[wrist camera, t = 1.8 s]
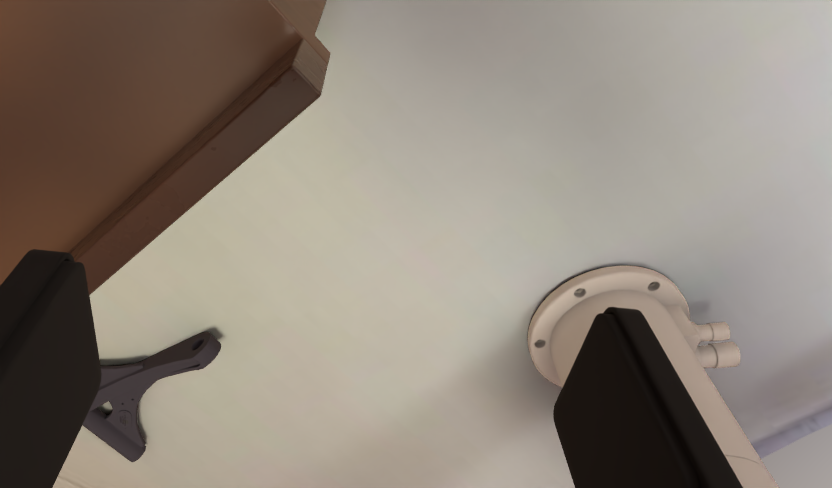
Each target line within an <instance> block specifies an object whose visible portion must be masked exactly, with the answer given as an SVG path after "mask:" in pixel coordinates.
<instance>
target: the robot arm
mask: <svg viewBox="0 0 832 488" xmlns="http://www.w3.org/2000/svg"><path fill="white" fill-rule="evenodd" d="M729 338H730V328H729V326H728V324H727V323H726V322H719V323H708V324H706V325H696V323H694V322H690V312H689V308H688V304H687V302H686V300H685V298H684V296H683V295H682V293H681V292H680V291H679V289H678V288H677V287H676V285H675V284H674V283H673V282H672V281H670V280H669V279H668V278H667V277H665V276H664V275H662V274H660V273H658V272H656V271H654V270H650V269H646V268H642V267H638V266H624V265H623V266H612V267H605V268H600V269H596V270H592V271H589V272H587V273H584V274H582V275H579V276H577V277H575V278H573V279H571V280H569V281H568V282H566V283H564V284H562V285H561V286H560V287H558V288H557V289H556V290H555V291H553V292H552V293H551V294H550V295H549V296H548V297H547V298H546V299H545V300H544V301H543V302H542V304H541V305H540V306H539V308H538V309H537V311H536V312H535V314H534V316H533V318H532V320H531V323H530V326H529V330H528V339H527V340H528V347H529V352H530V355H531V357H532V361H533V363H534V365H535V366H536V368H537V370H538V371H539V372H540V373H541V374H542V375H543V376H544V377H545V378H546V379H547V380H549V381H551V382H552V383H554V384H555V385H557V386H560V387H562V390H561V392H560V394H559V396H558V399H557V401H556V403H555V406H554V422H555V426H556V429H557V432H558V435H559V438H560V442H561V445H562V448H563V451H564V454H565V457H566V460H567V463H568V467H569V470H570V473H571V476H572V479H573V482H574V485H575V488H779V487H778V485H777V484H776V482H775V480H774V479H773V477H772V476H771V474H770V473H769V472H768V470H767V468H766V467H765V465H764V464H763V462H762V461H761V459H760V457H759V456H758V454H757V453H756V451H755V449H754V448H753V446H752V445H751V443H750V441H749V440H748V438H747V437H746V435H745V434H744V432H743V430H742V429H741V427H740V426H739V424H738V422H737V421H736V419H735V418H734V416H733V415H732V413H731V411H730V410H729V408H728V407H727V405H726V403H725V402H724V400H723V399H722V397H721V395H720V394H719V392H718V391H717V389H716V387H715V386H714V384H713V383H712V381H711V379H710V378H709V376H708V375H707V373H706V371H705V370H704V368H709V367H712V368H725V367H736V366H738V365H739V363H740V352H739V349H738V347H737V345H736V344H735V343H734V342H721V343H710V344H708V345H703V346H698V344H699V343H700V341H721V340H729ZM100 382H101V367H100V360H99V354H98V348H97V342H96V335H95V329H94V323H93V316H92V310H91V304H90V297H89V291H88V285H87V278H86V272H85V267H84V265H83V263H81V262H75V261H74V258H73V256H72V255H71V254H70V253H67V252H57V251H47V250H37V249H33V250H30V251H29V252H27V253H26V254H25V256H24V257H23V258H22V259H21V261H20V262H19V263H18V264H17V266H16V267H15V268H14V269H13V271H12V272H11V273H10V274H9V275H8V277H7V278H6V279H5V280H4V282H3V283H2V284H1V285H0V488H52V487H53V485H54V483H55V481H56V479H57V477H58V474H59V472H60V470H61V468H62V466H63V464H64V462H65V460H66V458H67V456H68V454H69V451H70V449H71V447H72V445H73V443H74V441H75V439H76V437H77V435H78V433H79V431H80V428H81V426H82V424H83V422H84V420H85V418H86V416H87V414H88V412H89V410H90V408H91V405H92V403H93V401H94V399H95V397H96V395H97V393H98V390H99V387H100Z"/></svg>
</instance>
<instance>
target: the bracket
mask: <svg viewBox="0 0 832 488" xmlns="http://www.w3.org/2000/svg"><path fill="white" fill-rule="evenodd" d="M220 349H221V344H220V342H219V341H218V340H217V339H216V338H215V337H214V336H213V335H212V334H211V333H209V332H203V333H200V334H198V335H196V336H194V337H192V338H189V339H187V340H185V341H183V342H181V343H179V344H177V345H174V346H172V347H170V348H168V349H166V350H164V351H162V352H160V353H157V354H155V355H153V356H151V357H149V358H147V359H145V360H142V361H140V362H138V363H136V364H130V365H123V366H100V367H101V382H100V387H99V390H98V393H97V395H96V397H95V399H94V401H93V403H92V405H91V408H90V410H89V412H88V414H87V416H86V418H85V420H84V422H83V424H82V425H83V426H84V427H86V428H87V429H88V430H90V431H91V432H92V433H94V434H95V435H96V436H98V437H99V438H100V439H102V440H103V441H104V442H106V443H107V444H108V445H110V446H111V447H112V448H114V449H115V450H116V451H117V452H119V453H120V454H121V455H123V456H124V457H125V458H127V459H128V460H129V461H131V462H134V461H136V460H138V459H139V458H140V457H141V456H142V455H143V453H144V452H145V449H146V446H145V441H144V439H143V437H142V435H141V432H140V430H139V427H138V423H137V407H138V402H139V400H140V399H141V397H142V395H143V394H144V393H145V391H146V390H147V389H148V388H149V387H150V386H151V385H152V384H154V383H155V382H156V381H157V380H159V379H162V378H164V377H168V376H172V375H176V374H180V373H184V372H188V371H192V370H199V369H203V368H204V367H206V366H207V365H208V364H210V363H211V362H212V361H213V360H214V359H215V357H216V356H217V355H218V353H219V351H220ZM108 401H109V402H110V403H111V405H112V408H113V411H112V413H111V414H110V415H108V416H107V415H105V414H104V413H103V412H102V411H100V410H99V409H98V408H97V407H99V406H101V405H102V404H104V403H106V402H108Z"/></svg>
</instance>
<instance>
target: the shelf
mask: <svg viewBox="0 0 832 488" xmlns="http://www.w3.org/2000/svg"><path fill="white" fill-rule="evenodd" d="M325 3H326V0H0V285H1V284H2V283H3V282H4V280H5V279H6V278H7V277H8V275H9V274H10V273H11V272H12V271H13V269H14V268H15V267H16V266H17V264H18V263H19V262H20V261H21V259H22V258H23V257H24V256H25V254H26V253H27V252H29V251H30V250H33V249H37V250H47V251H57V252H67V253H70V254H71V255H72V256H73V258H74V261H75V262H81V263H83V265H84V267H85V272H86V278H87V285H88V291H89V295H90V294H91V293H93V292H94V291H95V290H96V289H97V288H98V287H99V286H101V285H102V284H103V283H104V282H105V281H106V280H108V279H109V278H110V277H111V276H112V275H113V274H115V273H116V272H117V271H118V270H119V269H120V268H122V267H123V266H124V265H125V264H126V263H127V262H128V261H130V260H131V259H132V258H133V257H134V256H135V255H137V254H138V253H139V252H140V251H141V250H142V249H144V248H145V247H146V246H147V245H148V244H149V243H151V242H152V241H153V240H154V239H155V238H156V237H158V236H159V235H160V234H161V233H162V232H163V231H164V230H166V229H167V228H168V227H169V226H170V225H171V224H173V223H174V222H175V221H176V220H177V219H178V218H180V217H181V216H182V215H183V214H184V213H185V212H187V211H188V210H189V209H190V208H191V207H192V206H194V205H195V204H196V203H197V202H198V201H199V200H200V199H202V198H203V197H204V196H205V195H206V194H207V193H209V192H210V191H211V190H212V189H213V188H214V187H216V186H217V185H218V184H219V183H220V182H221V181H223V180H224V179H225V178H226V177H227V176H228V175H230V174H231V173H232V172H233V171H234V170H235V169H236V168H238V167H239V166H240V165H241V164H242V163H243V162H245V161H246V160H247V159H248V158H249V157H250V156H252V155H253V154H254V153H255V152H256V151H257V150H259V149H260V148H261V147H262V146H263V145H264V144H266V143H267V142H268V141H269V140H270V139H271V138H272V137H274V136H275V135H276V134H277V133H278V132H279V131H281V130H282V129H283V128H284V127H285V126H286V125H288V124H289V123H290V122H291V121H292V120H293V119H295V118H296V117H297V116H298V115H299V114H300V113H302V112H303V111H304V110H305V109H306V108H307V107H308V106H310V105H311V104H312V103H313V102H314V101H315V100H317V99H318V98H319V97H320V96H321V92H322V88H323V84H324V79H325V75H326V70H327V66H328V62H329V58H330V52H329V51H328V50H327V49H326V47H325V46H324V45H323V44H322V43H321V42H320V41H319V40H318V38H317V37H316V36H315V33H316V30H317V27H318V24H319V21H320V18H321V15H322V12H323V9H324V6H325Z"/></svg>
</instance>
